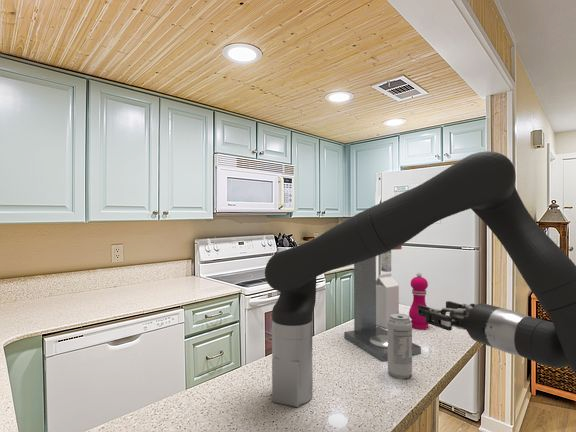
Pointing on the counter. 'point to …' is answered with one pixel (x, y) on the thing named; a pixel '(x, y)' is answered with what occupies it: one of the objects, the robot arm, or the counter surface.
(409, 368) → the energy drink can
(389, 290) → the milk carton
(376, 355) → the arbor press
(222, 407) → the counter surface
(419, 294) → the pepper mill
